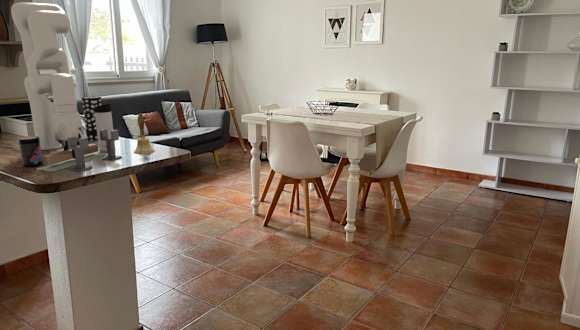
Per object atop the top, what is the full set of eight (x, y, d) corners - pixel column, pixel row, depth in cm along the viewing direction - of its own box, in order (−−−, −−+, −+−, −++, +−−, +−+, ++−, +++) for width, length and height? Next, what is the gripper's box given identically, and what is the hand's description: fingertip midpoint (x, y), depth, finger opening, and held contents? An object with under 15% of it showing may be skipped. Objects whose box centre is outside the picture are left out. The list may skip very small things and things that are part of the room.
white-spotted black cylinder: (93, 137, 214) (88, 96, 209) (109, 137, 213) (104, 96, 208) (83, 140, 207) (77, 98, 202) (99, 141, 205) (94, 98, 200)
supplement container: (27, 168, 157) (22, 140, 155) (19, 166, 161) (14, 138, 159) (46, 164, 162) (42, 137, 160) (38, 162, 166) (34, 135, 164)
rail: (43, 164, 155) (42, 156, 154) (92, 150, 177) (91, 143, 176) (50, 164, 154) (49, 156, 153) (98, 151, 176) (97, 143, 176)
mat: (36, 170, 155) (36, 168, 155) (89, 154, 179) (89, 152, 179) (54, 171, 153) (54, 170, 153) (106, 155, 177) (105, 153, 177)
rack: (69, 170, 154) (64, 138, 151) (110, 157, 173) (106, 128, 170) (83, 171, 152) (78, 139, 149) (122, 158, 171) (119, 129, 169)
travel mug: (110, 153, 180) (105, 104, 175) (96, 152, 181) (90, 104, 176) (119, 150, 186) (114, 102, 181) (105, 149, 187) (99, 102, 182)
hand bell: (134, 154, 177) (130, 115, 173) (133, 150, 185) (129, 113, 181) (155, 152, 181) (152, 114, 177) (153, 148, 188) (150, 111, 184)
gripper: (40, 109, 160) (47, 158, 165) (76, 111, 155) (83, 161, 160) (56, 107, 167) (63, 154, 171) (91, 108, 162) (97, 156, 167)
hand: (72, 157), depth 166 cm, fingers closed on rail, 3 cm apart
